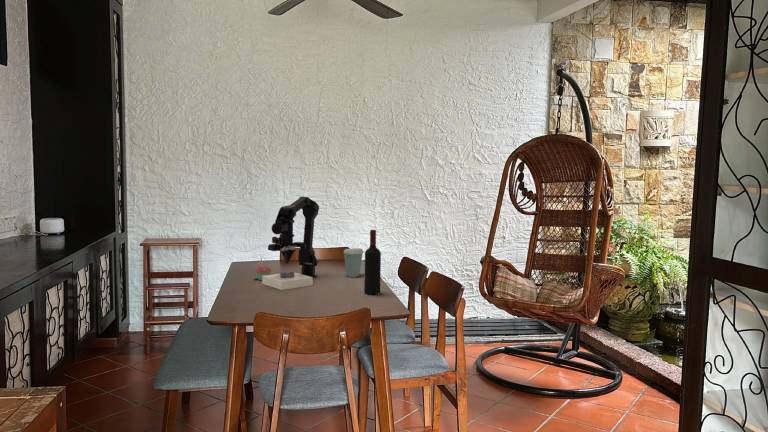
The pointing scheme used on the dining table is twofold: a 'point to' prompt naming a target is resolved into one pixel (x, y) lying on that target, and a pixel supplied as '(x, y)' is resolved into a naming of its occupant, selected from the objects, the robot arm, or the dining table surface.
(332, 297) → the dining table surface
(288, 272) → the plunger
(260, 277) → the cupcake
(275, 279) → the block
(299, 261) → the robot arm
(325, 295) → the dining table surface
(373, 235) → the wine bottle
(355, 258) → the disposable coffee cup
